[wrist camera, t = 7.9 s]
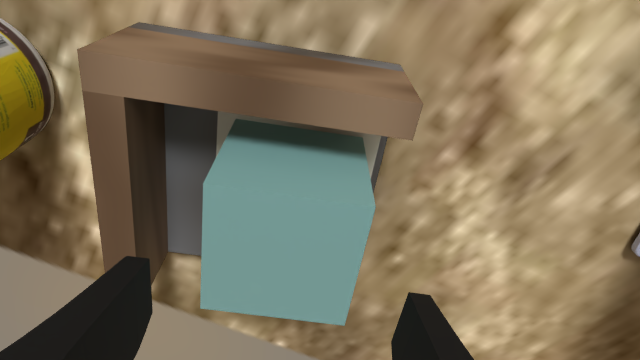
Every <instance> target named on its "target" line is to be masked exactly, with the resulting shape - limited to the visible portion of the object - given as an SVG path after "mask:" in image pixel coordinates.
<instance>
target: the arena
mask: <svg viewBox="0 0 640 360" xmlns="http://www.w3.org/2000/svg"><path fill="white" fill-rule="evenodd" d="M77 52H78V60H79V68H80V76H81V84H82V92H83V100H84V108H85V116H86V124H87V132H88V140H89V148H90V156H91V164H92V172H93V180H94V188H95V196H96V204H97V212H98V220H99V228H100V236H101V244H102V252H103V260H104V268H105V273H106V272H107V271H108V270H109V269H111V268H112V267H113V266H114V265H115V264H117V263H118V262H119V261H120V260H121V259H123V258H124V257H126V256H133V257H141V258H149V259H150V277H151V284H152V283H153V281H154V279H155V277H156V275H157V273H158V271H159V269H160V267H161V265H162V263H163V261H164V259H165V257H166V255H167V253H168V252H176V253H184V254H191V255H199V256H202V212H203V183H204V181H205V179H206V177H207V175H208V173H209V171H210V169H211V167H212V165H213V163H214V161H215V159H216V157H217V155H218V153H219V151H220V149H221V147H222V145H223V143H224V141H225V139H226V137H227V135H228V133H229V131H230V129H231V127H232V125H233V123H234V121H235V119H242V120H249V121H255V122H262V123H269V124H275V125H282V126H289V127H296V128H302V129H309V130H316V131H322V132H329V133H336V134H343V135H349V136H356V137H363V141H364V147H365V152H366V157H367V163H368V168H369V174H370V179H371V185H372V190H373V192H374V188H375V184H376V180H377V177H378V173H379V169H380V165H381V161H382V157H383V153H384V149H385V145H386V141H387V138H388V137H393V138H399V139H406V140H413V137H414V134H415V131H416V127H417V124H418V120H419V117H420V113H421V110H422V106H423V103H422V101H421V99H420V98H419V96H418V94H417V92H416V91H415V89H414V87H413V86H412V84H411V82H410V81H409V79H408V77H407V75H406V74H405V72H404V70H403V69H402V67H401V65H398V64H392V63H386V62H380V61H374V60H368V59H362V58H355V57H349V56H343V55H337V54H331V53H325V52H318V51H312V50H306V49H300V48H294V47H288V46H281V45H275V44H269V43H263V42H257V41H251V40H244V39H238V38H232V37H226V36H220V35H214V34H207V33H201V32H195V31H189V30H183V29H177V28H171V27H164V26H158V25H152V24H146V23H140V22H139V23H136V24H134V25H132V26H129V27H127V28H125V29H123V30H120V31H118V32H116V33H114V34H111V35H109V36H107V37H105V38H102V39H100V40H98V41H96V42H93V43H91V44H89V45H87V46H84V47H82V48H80V49H78V50H77Z"/></svg>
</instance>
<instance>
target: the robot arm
mask: <svg viewBox="0 0 640 360" xmlns="http://www.w3.org/2000/svg"><path fill="white" fill-rule="evenodd" d="M631 248H632V251H633V252H634V253H635V254H636V255H637V256H639V257H640V233H639V235H638V236H637V238H636V239H635V241H634V243H633V244H632V247H631ZM151 315H152V295H151V277H150V259H149V258H141V257H133V256H126V257H124V258H123V259H121V260H120V261H119V262H118V263H117V264H115V265H114V266H113V267H112V268H111V269H109V270H108V271H107V272H106V273H105V274H103V275H102V276H101V277H100V278H99V279H97V280H96V281H95V282H94V283H93V284H91V285H90V286H89V287H88V288H86V289H85V290H84V291H83V292H82V293H80V294H79V295H78V296H77V297H75V298H74V299H73V300H71V301H70V302H69V303H68V304H66V305H65V306H64V307H63V308H61V309H60V310H59V311H57V312H56V313H55V314H53V315H52V316H51V317H49V318H48V319H46V320H45V321H44V322H42V323H41V324H40V325H38V326H37V327H35V328H34V329H33V330H31V331H30V332H28V333H27V334H26V335H24V336H23V337H22V338H20V339H19V340H17V341H16V342H14V343H13V344H11V345H10V346H8V347H7V348H5V349H4V350H2V351H1V352H0V360H133V359H134V358H135V356H136V354H137V351H138V349H139V347H140V344H141V342H142V339H143V337H144V334H145V332H146V329H147V326H148V323H149V320H150V318H151ZM391 344H392V360H474V359H473V358H472V356H471V355H470V353H469V352H468V351H467V349H466V348H465V346H464V345H463V344H462V342H461V341H460V339H459V338H458V336H457V335H456V333H455V332H454V330H453V329H452V327H451V326H450V324H449V323H448V321H447V320H446V318H445V317H444V315H443V314H442V312H441V311H440V309H439V308H438V306H437V305H436V303H435V302H434V300H433V299H432V297H431V296H430V295H425V294H418V293H410V292H409V293H408V296H407V299H406V301H405V304H404V307H403V310H402V313H401V316H400V318H399V321H398V324H397V327H396V330H395V333H394V336H393V338H392V341H391Z"/></svg>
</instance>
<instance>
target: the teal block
mask: <svg viewBox="0 0 640 360" xmlns="http://www.w3.org/2000/svg"><path fill="white" fill-rule="evenodd" d="M375 208H376V206H375V201H374V196H373V190H372V185H371V179H370V174H369V168H368V163H367V157H366V152H365V147H364V141H363V137H356V136H349V135H343V134H336V133H329V132H322V131H316V130H309V129H302V128H296V127H289V126H282V125H275V124H269V123H262V122H255V121H249V120H242V119H235V121H234V123H233V125H232V127H231V129H230V131H229V133H228V135H227V137H226V139H225V141H224V143H223V145H222V147H221V149H220V151H219V153H218V155H217V157H216V159H215V161H214V163H213V165H212V167H211V169H210V171H209V173H208V175H207V177H206V179H205V181H204V183H203V212H202V258H201V304H200V308H201V309H210V310H218V311H226V312H235V313H243V314H251V315H260V316H268V317H276V318H285V319H293V320H302V321H310V322H318V323H327V324H335V325H343V326H345V322H346V318H347V314H348V310H349V307H350V303H351V299H352V295H353V291H354V288H355V284H356V280H357V276H358V272H359V269H360V265H361V261H362V257H363V253H364V250H365V246H366V242H367V238H368V234H369V231H370V227H371V223H372V219H373V215H374V212H375Z"/></svg>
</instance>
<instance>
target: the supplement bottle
mask: <svg viewBox="0 0 640 360" xmlns="http://www.w3.org/2000/svg"><path fill="white" fill-rule="evenodd" d="M53 106H54V88H53V83H52V79H51V76H50V73H49V71H48V69H47V66H46V65H45V63H44V61H43V59H42V57H41V56H40V54H39V53H38V51H37V50H36V49H35V48H34V46H33V45H32V44H31V43H30V42H29V40H28V39H27V38H26V37H25V36H24V35H22V34H21V33H20V32H19V31H18V30H17V29H15V28H14V27H13V26H12V25H10V24H9V23H7V22H6V21H4V20H3V19H1V18H0V160H2V159H3V158H5V157H6V156H7V155H9V154H10V153H12V152H13V151H15V150H16V149H18V148H19V147H21V146H22V145H24V144H25V143H26V142H28V141H29V140H30V139H32V138H33V137H34V136H36V135H37V134H38V133H39V132H40V131H41V130H42V129H43V128H44V127H45V125H46V124H47V122H48V121H49V119H50V117H51V114H52V111H53Z"/></svg>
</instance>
